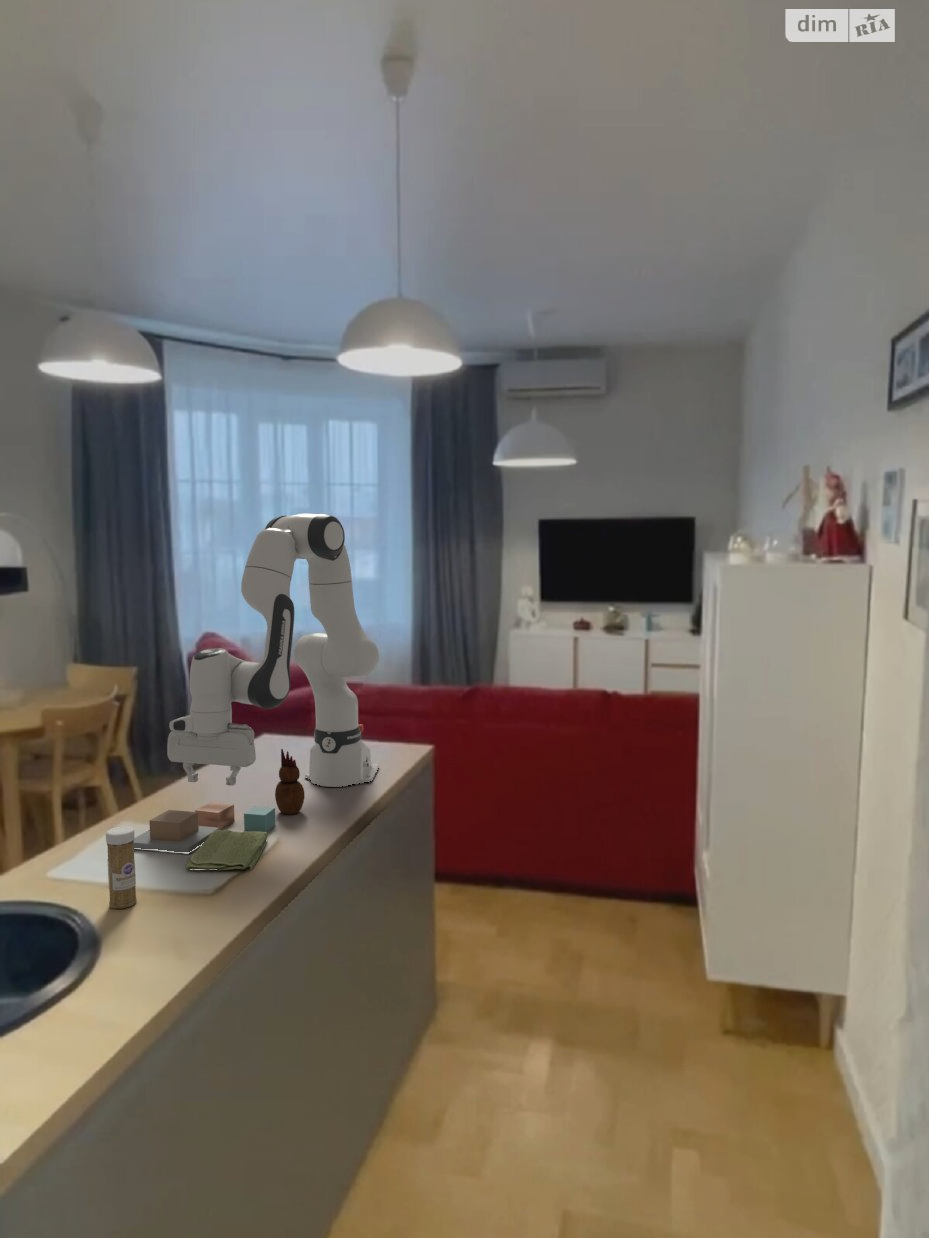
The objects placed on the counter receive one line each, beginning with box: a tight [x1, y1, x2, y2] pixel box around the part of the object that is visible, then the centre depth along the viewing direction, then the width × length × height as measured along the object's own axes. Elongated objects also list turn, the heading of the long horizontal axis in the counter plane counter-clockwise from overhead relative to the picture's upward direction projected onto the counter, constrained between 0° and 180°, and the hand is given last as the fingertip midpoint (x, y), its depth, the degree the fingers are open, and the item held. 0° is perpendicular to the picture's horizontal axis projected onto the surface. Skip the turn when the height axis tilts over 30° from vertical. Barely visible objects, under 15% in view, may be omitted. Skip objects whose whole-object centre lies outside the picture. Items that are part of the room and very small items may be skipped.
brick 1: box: [194, 801, 236, 830], centre depth 186 cm, size 6×6×4 cm
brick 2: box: [243, 806, 276, 833], centre depth 183 cm, size 5×5×4 cm
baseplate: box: [133, 809, 220, 852], centre depth 175 cm, size 12×14×6 cm
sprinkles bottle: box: [105, 825, 138, 910], centre depth 144 cm, size 5×5×13 cm
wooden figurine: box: [274, 748, 305, 815], centre depth 193 cm, size 7×6×15 cm
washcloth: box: [185, 829, 269, 871], centre depth 167 cm, size 13×18×3 cm
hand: (211, 783), depth 185 cm, fingers open, 8 cm apart
